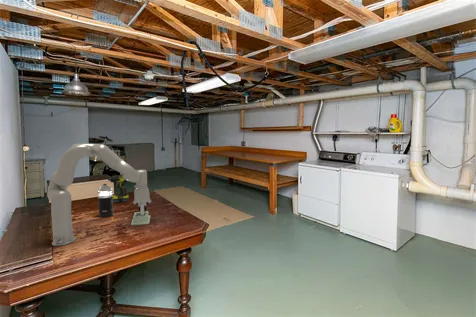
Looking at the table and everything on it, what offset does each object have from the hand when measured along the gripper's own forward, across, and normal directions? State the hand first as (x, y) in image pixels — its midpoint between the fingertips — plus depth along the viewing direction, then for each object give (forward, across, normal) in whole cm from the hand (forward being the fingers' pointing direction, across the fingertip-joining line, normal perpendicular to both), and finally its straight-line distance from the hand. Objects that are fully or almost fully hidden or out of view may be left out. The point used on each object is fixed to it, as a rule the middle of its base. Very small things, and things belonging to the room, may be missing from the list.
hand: (142, 211), depth 182 cm
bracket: (+6, -1, 0) cm, 6 cm away
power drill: (+7, -25, +58) cm, 64 cm away
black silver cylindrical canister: (+7, -28, +19) cm, 35 cm away
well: (+7, -1, 0) cm, 7 cm away
